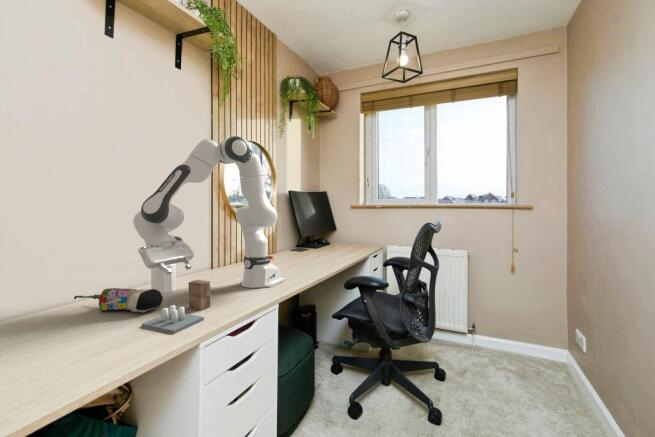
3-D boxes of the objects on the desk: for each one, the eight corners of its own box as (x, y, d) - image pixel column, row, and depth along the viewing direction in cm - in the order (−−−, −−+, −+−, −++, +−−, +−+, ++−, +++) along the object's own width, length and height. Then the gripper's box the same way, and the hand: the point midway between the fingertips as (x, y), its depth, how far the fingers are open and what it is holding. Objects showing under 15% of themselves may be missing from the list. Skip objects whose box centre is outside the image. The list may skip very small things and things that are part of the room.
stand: (173, 314, 107) (172, 300, 107) (203, 319, 102) (203, 305, 101) (141, 326, 96) (141, 311, 95) (174, 333, 91) (173, 317, 90)
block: (198, 304, 117) (197, 279, 116) (210, 306, 115) (209, 281, 114) (188, 308, 113) (188, 282, 112) (201, 310, 111) (200, 284, 110)
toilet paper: (181, 288, 140) (181, 262, 140) (165, 294, 130) (164, 266, 130) (163, 286, 143) (162, 261, 142) (145, 292, 133) (144, 265, 132)
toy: (57, 319, 103) (133, 320, 98) (57, 293, 103) (133, 293, 98) (115, 303, 126) (179, 303, 121) (115, 281, 126) (179, 280, 121)
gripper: (140, 242, 109) (160, 271, 106) (185, 236, 128) (203, 261, 125) (132, 253, 111) (151, 282, 108) (177, 246, 130) (195, 270, 127)
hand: (179, 270), depth 117 cm, fingers open, 8 cm apart
